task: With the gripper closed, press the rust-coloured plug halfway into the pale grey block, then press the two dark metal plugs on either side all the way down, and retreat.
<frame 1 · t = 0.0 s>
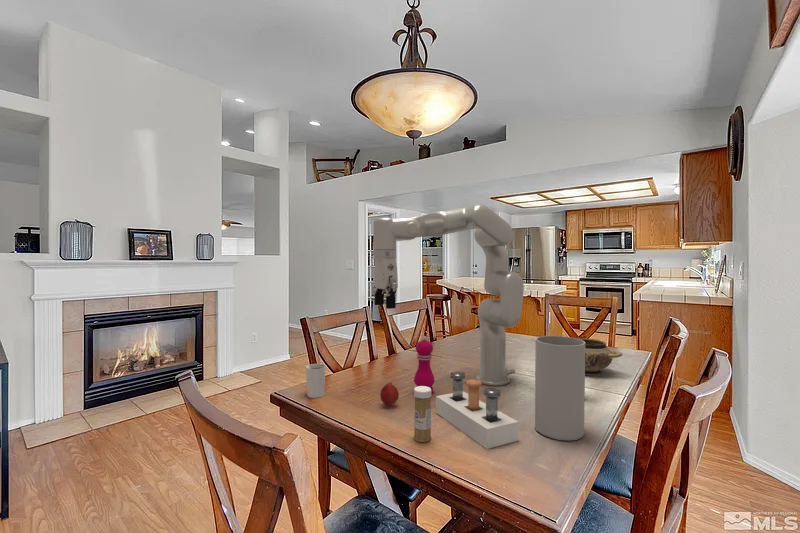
hand: (384, 306, 128), 31 cm above the table, tool pointing down, fingers open, 9 cm apart
grey plug 1: (457, 386, 116), point 9 cm above the table, slide at 0.0 cm
onion: (389, 406, 123), on the table
rust plug: (473, 395, 109), point 9 cm above the table, slide at 0.0 cm
sprinkles bottle: (422, 439, 101), on the table
ceramic bowl: (587, 372, 159), on the table
grey plug 2: (491, 405, 102), point 9 cm above the table, slide at 0.0 cm
pepper mill: (424, 393, 136), on the table
block: (473, 425, 109), on the table
drinking glass: (315, 395, 133), on the table
cylinder vase: (558, 431, 106), on the table
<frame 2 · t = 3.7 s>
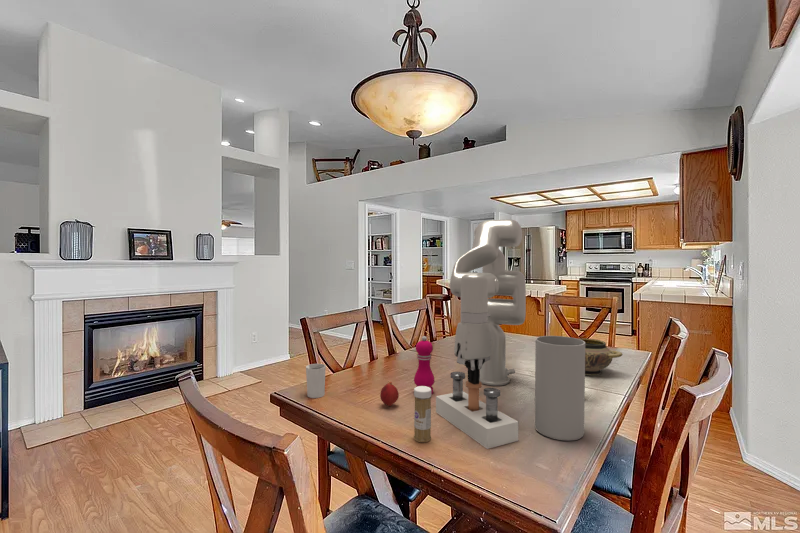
hand: (473, 382, 109), 12 cm above the table, tool pointing down, fingers closed
rust plug: (473, 396, 109), point 8 cm above the table, slide at 0.3 cm, touching gripper
everything else where it was.
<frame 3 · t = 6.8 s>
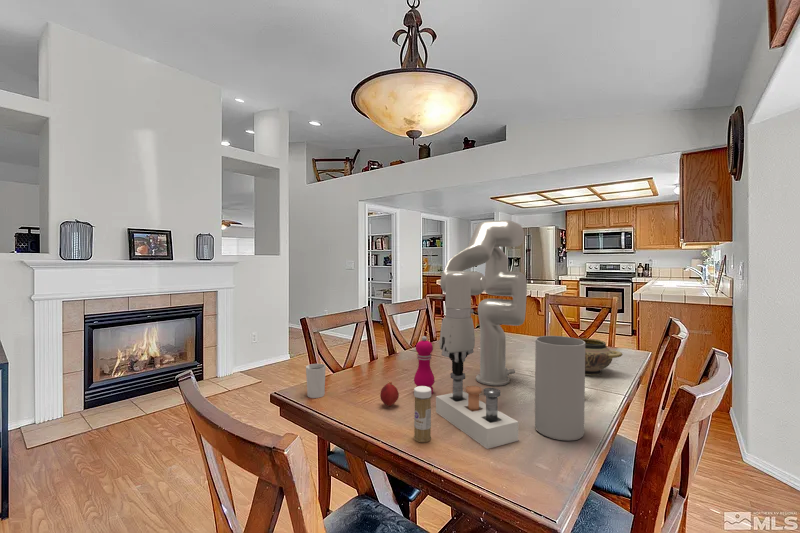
hand: (457, 374, 116), 12 cm above the table, tool pointing down, fingers closed
grey plug 1: (457, 387, 116), point 8 cm above the table, slide at 0.1 cm, touching gripper
rust plug: (473, 402, 109), point 7 cm above the table, slide at 1.9 cm
everything else where it was.
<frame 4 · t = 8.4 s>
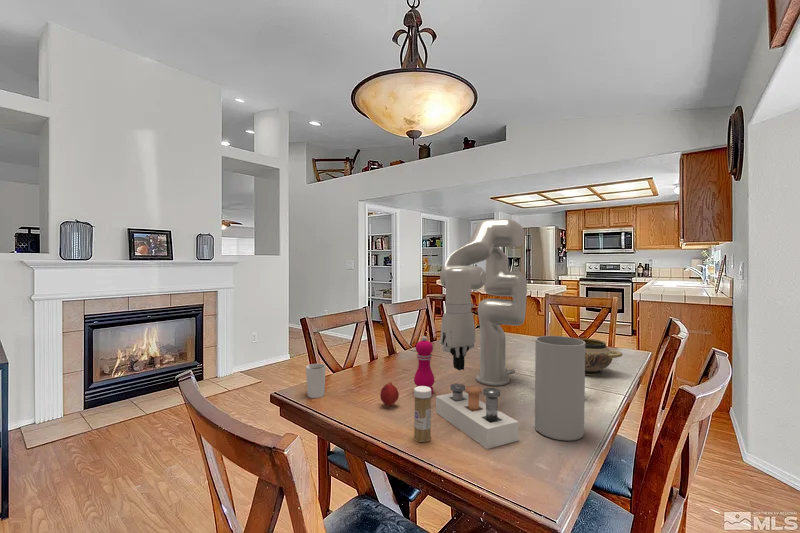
hand: (458, 368, 117), 14 cm above the table, tool pointing down, fingers closed
grey plug 1: (457, 399, 117), point 5 cm above the table, slide at 3.7 cm
everything else where it was.
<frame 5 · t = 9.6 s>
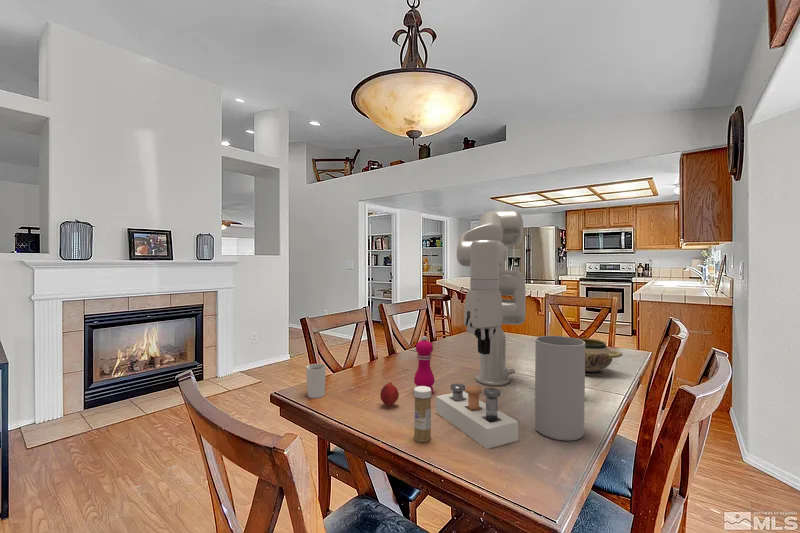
hand: (483, 353, 104), 22 cm above the table, tool pointing down, fingers closed
nothing on the table moved.
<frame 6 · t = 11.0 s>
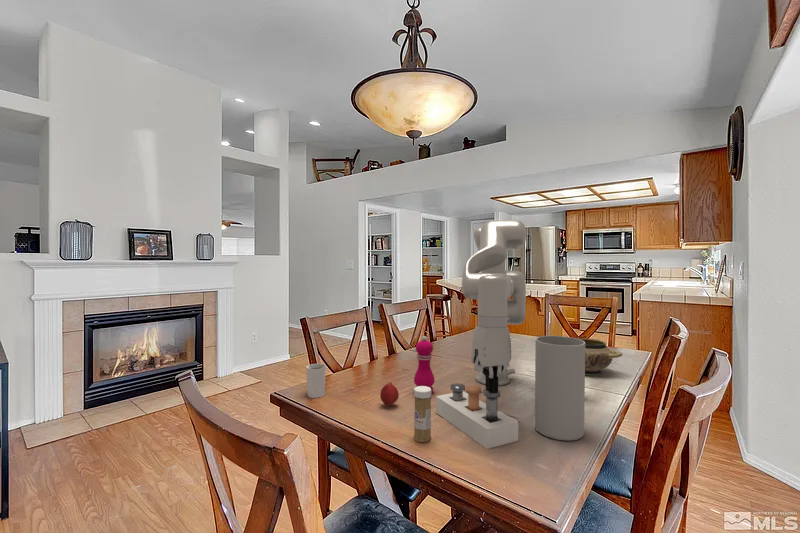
hand: (491, 391, 102), 12 cm above the table, tool pointing down, fingers closed
grey plug 2: (491, 406, 102), point 8 cm above the table, slide at 0.2 cm, touching gripper
everything else where it was.
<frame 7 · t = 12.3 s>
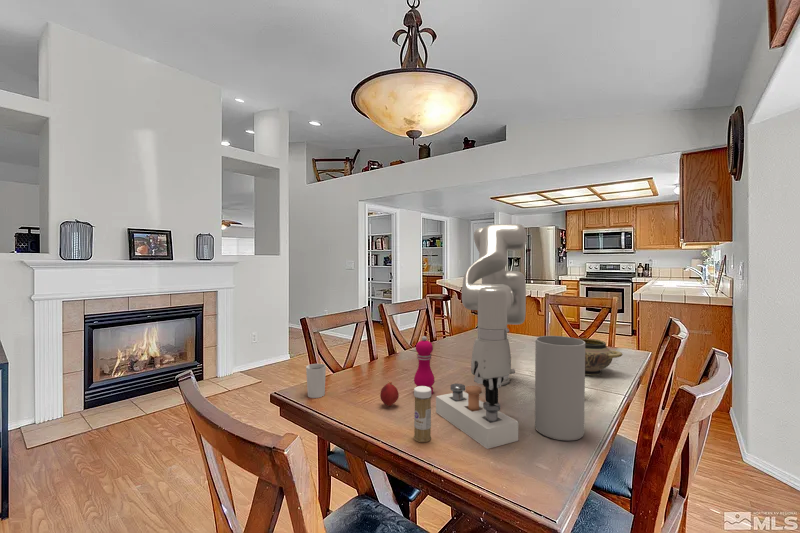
hand: (491, 402, 102), 9 cm above the table, tool pointing down, fingers closed
grey plug 2: (491, 419, 102), point 5 cm above the table, slide at 3.7 cm
everything else where it was.
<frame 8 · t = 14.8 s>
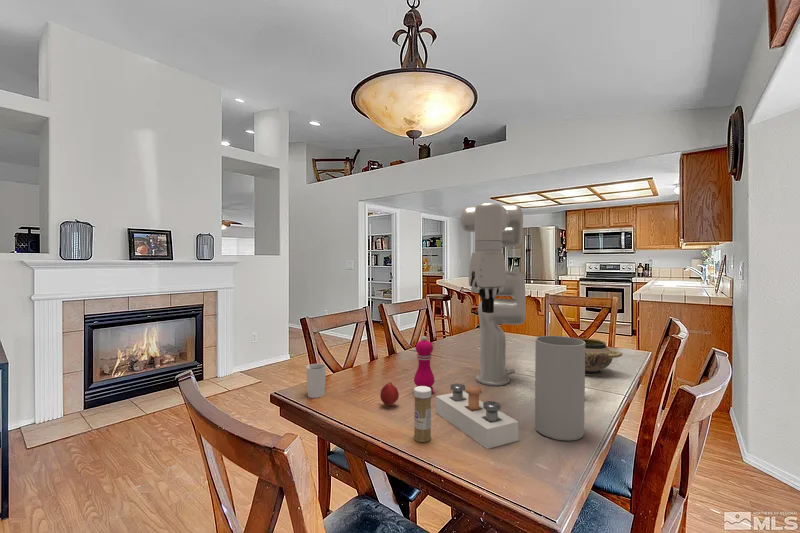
hand: (487, 312, 109), 32 cm above the table, tool pointing down, fingers closed
nothing on the table moved.
at the end: rust plug slide at 1.9 cm; grey plug 1 slide at 3.7 cm; grey plug 2 slide at 3.7 cm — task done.
